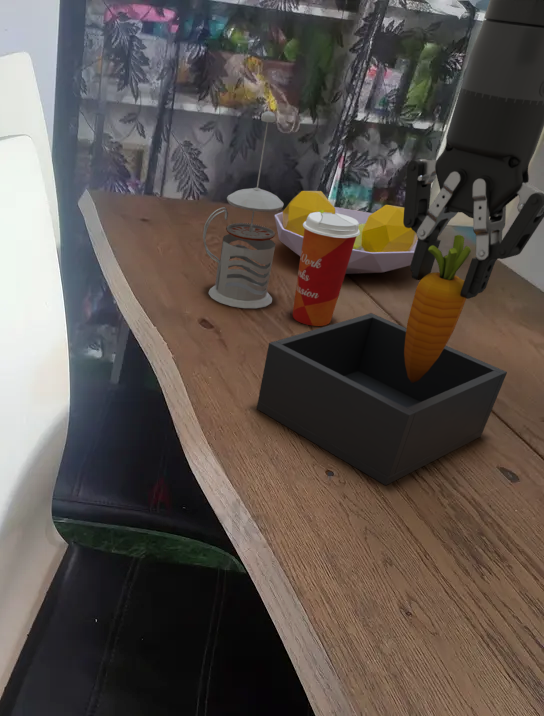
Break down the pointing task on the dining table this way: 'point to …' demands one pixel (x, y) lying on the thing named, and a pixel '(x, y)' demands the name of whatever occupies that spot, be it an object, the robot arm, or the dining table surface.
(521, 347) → the dining table surface
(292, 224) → the fruit bowl
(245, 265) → the french press
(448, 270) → the carrot
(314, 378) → the open dark gray box
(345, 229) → the paper cup
